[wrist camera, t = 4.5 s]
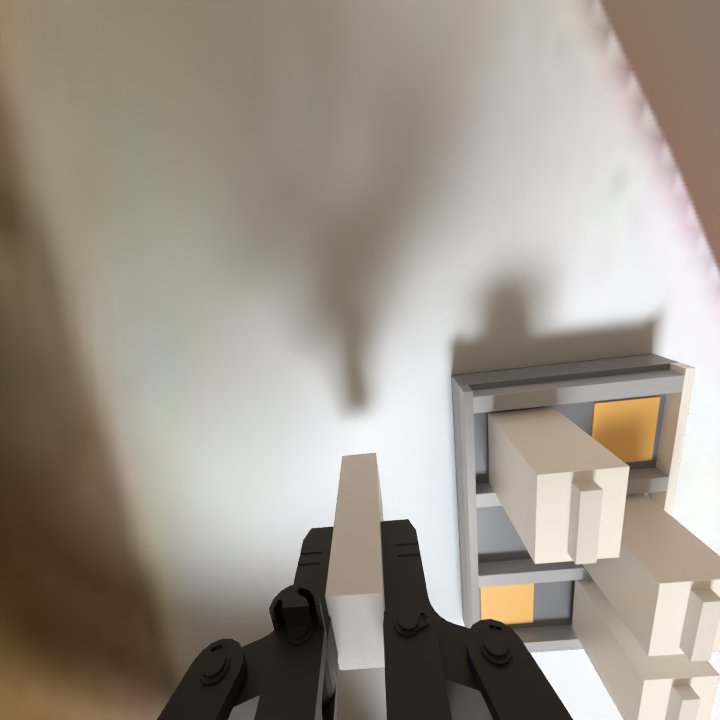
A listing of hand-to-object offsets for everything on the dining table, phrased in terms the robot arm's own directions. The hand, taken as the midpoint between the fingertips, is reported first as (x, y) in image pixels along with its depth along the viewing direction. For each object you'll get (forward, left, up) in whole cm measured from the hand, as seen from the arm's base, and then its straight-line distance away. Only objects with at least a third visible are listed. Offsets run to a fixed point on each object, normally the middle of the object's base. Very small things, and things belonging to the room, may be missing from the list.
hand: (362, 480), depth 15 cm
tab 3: (+12, -10, -2) cm, 16 cm away
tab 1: (+8, 0, -2) cm, 8 cm away
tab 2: (+12, -5, -2) cm, 13 cm away
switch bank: (+10, -5, -4) cm, 12 cm away
